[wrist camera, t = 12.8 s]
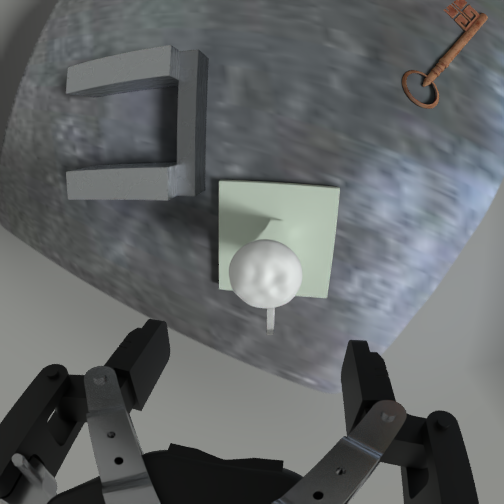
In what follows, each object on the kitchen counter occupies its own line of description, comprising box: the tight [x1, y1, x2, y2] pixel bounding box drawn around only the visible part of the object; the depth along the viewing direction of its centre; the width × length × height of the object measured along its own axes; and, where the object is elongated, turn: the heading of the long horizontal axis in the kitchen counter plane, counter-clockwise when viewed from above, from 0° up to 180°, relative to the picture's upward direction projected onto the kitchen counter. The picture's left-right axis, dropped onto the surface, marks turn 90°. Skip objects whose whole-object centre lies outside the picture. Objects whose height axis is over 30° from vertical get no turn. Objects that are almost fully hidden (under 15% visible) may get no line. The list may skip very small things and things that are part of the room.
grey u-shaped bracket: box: [66, 45, 209, 201], centre depth 24 cm, size 12×12×5 cm
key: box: [402, 0, 488, 108], centre depth 19 cm, size 6×1×15 cm
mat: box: [219, 180, 340, 298], centre depth 28 cm, size 10×10×1 cm
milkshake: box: [229, 219, 302, 335], centre depth 22 cm, size 4×5×10 cm
